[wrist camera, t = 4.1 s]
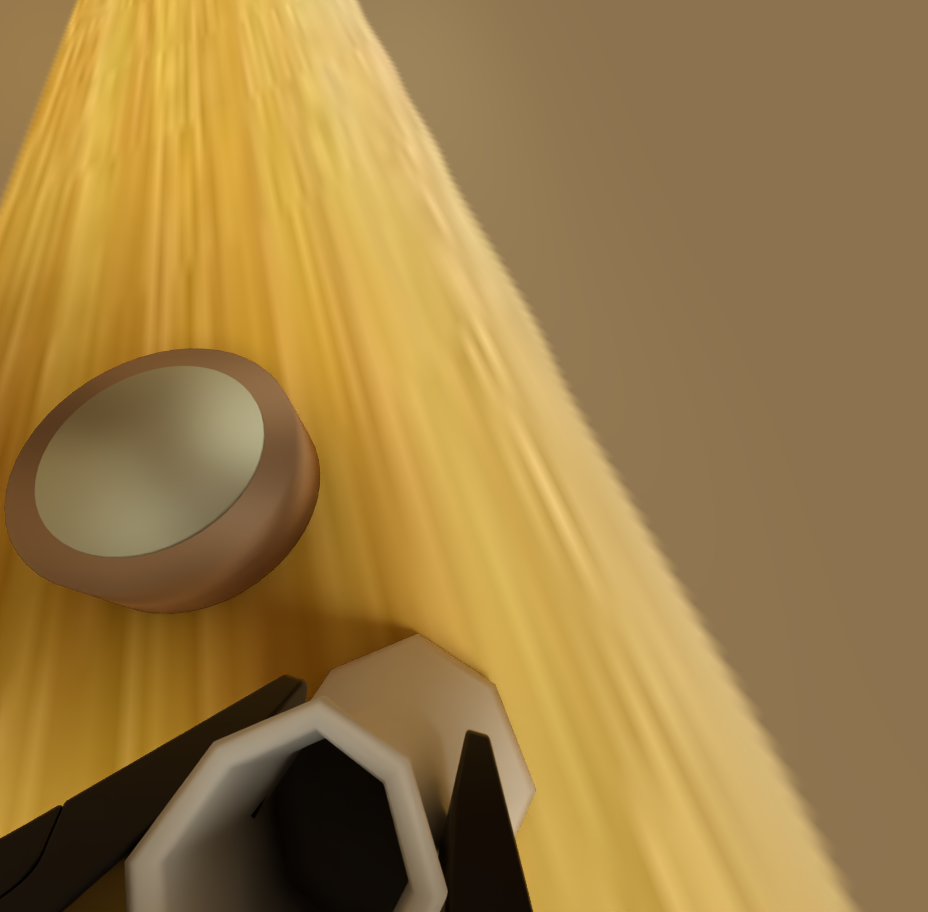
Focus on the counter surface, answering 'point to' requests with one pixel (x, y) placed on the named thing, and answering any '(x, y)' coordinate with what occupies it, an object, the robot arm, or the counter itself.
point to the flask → (331, 796)
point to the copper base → (165, 483)
